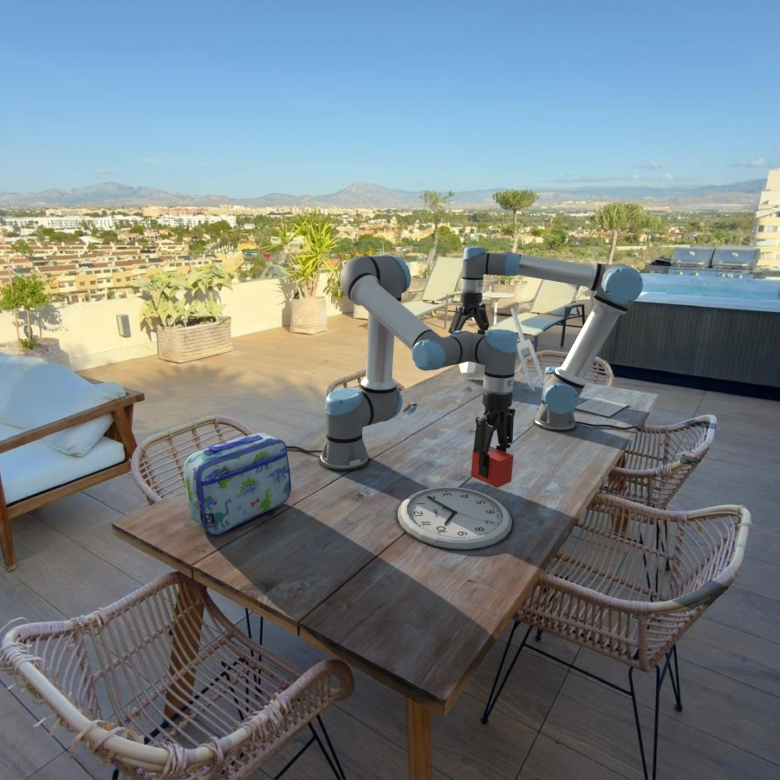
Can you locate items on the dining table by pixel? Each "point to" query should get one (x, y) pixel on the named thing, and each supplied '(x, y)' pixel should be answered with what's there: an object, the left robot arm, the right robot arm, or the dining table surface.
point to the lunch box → (236, 481)
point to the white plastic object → (522, 349)
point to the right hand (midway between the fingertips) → (468, 349)
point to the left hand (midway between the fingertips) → (491, 472)
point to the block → (494, 467)
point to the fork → (411, 403)
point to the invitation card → (601, 406)
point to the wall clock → (454, 518)
